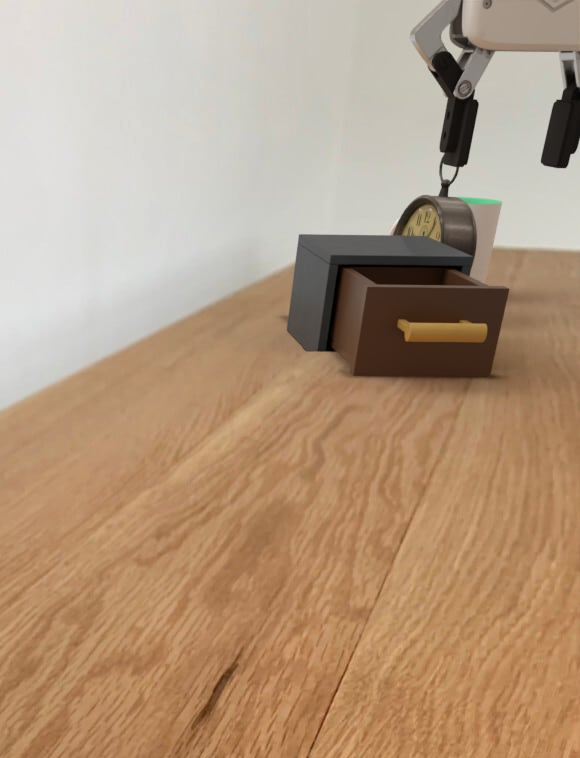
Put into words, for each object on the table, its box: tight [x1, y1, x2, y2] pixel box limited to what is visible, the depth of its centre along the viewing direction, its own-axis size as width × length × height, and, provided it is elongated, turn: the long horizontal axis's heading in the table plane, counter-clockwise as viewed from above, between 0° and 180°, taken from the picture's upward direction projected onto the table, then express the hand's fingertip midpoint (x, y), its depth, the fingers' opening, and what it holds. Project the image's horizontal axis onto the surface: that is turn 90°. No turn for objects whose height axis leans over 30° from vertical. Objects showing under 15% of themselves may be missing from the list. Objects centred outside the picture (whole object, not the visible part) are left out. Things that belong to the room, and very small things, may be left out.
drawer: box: [327, 265, 510, 379], centre depth 94 cm, size 17×11×7 cm, turn 179°
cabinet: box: [286, 233, 473, 353], centre depth 106 cm, size 14×13×9 cm
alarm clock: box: [393, 154, 477, 268], centre depth 117 cm, size 11×5×16 cm, turn 10°
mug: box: [388, 196, 503, 284], centre depth 130 cm, size 12×8×10 cm
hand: (504, 163), depth 76 cm, fingers open, 6 cm apart
